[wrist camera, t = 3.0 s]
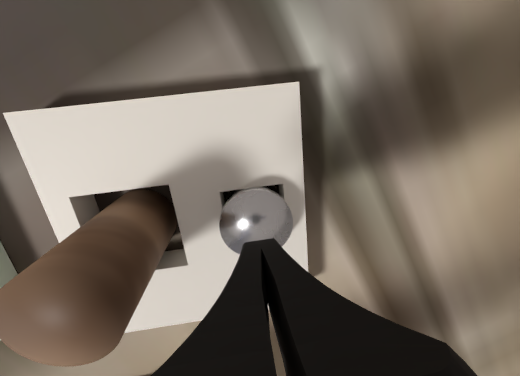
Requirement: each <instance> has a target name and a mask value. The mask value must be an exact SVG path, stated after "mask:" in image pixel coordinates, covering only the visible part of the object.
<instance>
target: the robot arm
mask: <svg viewBox="0 0 520 376" xmlns="http://www.w3.org/2000/svg"><path fill="white" fill-rule="evenodd" d="M268 306H269V310H270V313H271V317H272V321H273V325H274V328H275V332H276V336H277V339H278V343H279V347H280V351H281V354H282V358H283V362H284V367H285V371H286V376H477V375H476V374H475V372H474V371H473V370H472V369H471V368H470V367H469V366H468V365H467V363H466V362H465V361H464V360H463V359H462V358H461V357H460V356H459V355H458V354H456V353H455V352H454V351H453V350H452V349H451V348H450V347H449V346H448V345H447V344H446V343H445V342H442V341H439V340H437V339H434V338H432V337H429V336H426V335H424V334H421V333H419V332H416V331H414V330H411V329H408V328H406V327H403V326H401V325H398V324H396V323H394V322H392V321H389V320H387V319H385V318H383V317H381V316H379V315H376V314H374V313H372V312H370V311H368V310H366V309H364V308H362V307H360V306H359V305H357V304H355V303H353V302H351V301H350V300H348V299H346V298H344V297H343V296H341V295H339V294H338V293H336V292H334V291H333V290H331V289H330V288H328V287H327V286H325V285H324V284H323V283H321V282H320V281H319V280H317V279H316V278H315V277H313V276H312V275H311V274H310V273H308V272H307V271H306V270H305V269H304V268H303V267H301V266H300V265H299V264H298V263H297V262H296V261H295V260H294V259H293V258H292V257H291V256H290V255H289V254H288V253H287V252H286V251H285V250H284V249H283V248H282V247H281V245H280V244H279V243H278V242H277V240H275V239H274V238H271V239H264V240H258V241H251V242H245V243H244V244H243V245H242V250H241V253H240V256H239V258H238V261H237V263H236V266H235V268H234V270H233V272H232V274H231V276H230V278H229V280H228V282H227V283H226V285H225V287H224V289H223V291H222V292H221V294H220V296H219V297H218V299H217V300H216V302H215V303H214V305H213V306H212V308H211V309H210V310H209V312H208V313H207V315H206V316H205V317H204V318H203V320H202V321H201V322H200V324H199V325H198V326H197V327H196V329H195V330H194V331H193V332H192V334H191V335H190V336H189V337H188V338H187V339H186V340H185V341H184V342H183V344H182V345H181V346H180V347H179V348H178V349H177V350H176V351H175V352H174V353H173V354H172V356H171V357H170V358H169V359H168V360H167V361H166V362H165V363H164V364H163V365H162V366H161V367H160V368H159V369H158V370H156V371H155V372H154V373H153V374H152V375H151V376H277V375H276V369H275V363H274V358H273V352H272V346H271V340H270V330H269V314H268Z"/></svg>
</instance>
